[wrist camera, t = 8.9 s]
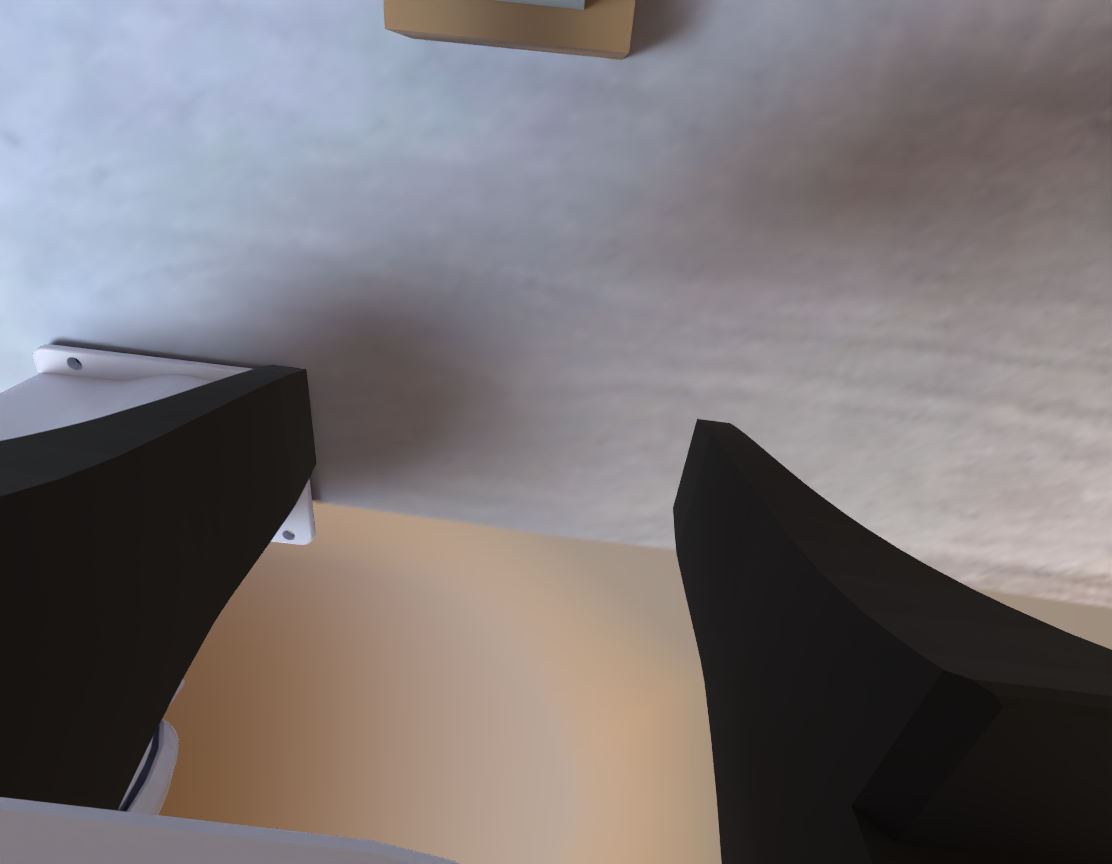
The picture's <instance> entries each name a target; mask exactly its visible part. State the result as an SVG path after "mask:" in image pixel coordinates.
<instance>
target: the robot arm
mask: <svg viewBox="0 0 1112 864" xmlns="http://www.w3.org/2000/svg"><path fill="white" fill-rule="evenodd" d="M33 357H34V361H35V364H36V367H37V370H38V373H39V374H38V375H36V376H34V377H32V378H30V379H28V380H26V381H24V382H22V383H20V384H18V385H16V386H14V387H12V388H10V389H8V390H6V391H4V392H2V393H0V864H458V863H457V862H455V861H453V860H449V859H445V858H441V857H437V856H433V855H429V854H425V853H421V852H417V851H413V850H409V849H405V848H401V847H397V846H393V845H389V844H385V843H381V842H377V841H373V840H364V839H355V838H348V837H338V836H330V835H321V834H313V833H305V832H296V831H287V830H279V829H270V828H262V827H253V826H244V825H236V824H227V823H219V822H210V821H201V820H193V819H184V818H175V817H167V816H158V813H159V811H160V809H161V807H162V805H163V802H164V800H165V798H166V795H167V792H168V789H169V786H170V782H171V777H172V774H173V770H174V767H175V763H176V759H177V753H178V744H179V743H178V737H177V733H176V731H175V730H174V728H173V727H172V725H171V724H169V723H168V722H166V721H165V720H163V719H162V718H163V716H164V714H165V712H166V710H167V708H168V707H169V705H170V704H171V702H172V701H173V700H174V698H175V697H176V695H177V694H178V692H179V691H180V689H181V688H182V686H183V685H184V680H183V677H184V675H185V673H186V672H187V670H188V668H189V666H190V665H191V663H192V661H193V659H194V657H195V656H196V654H197V652H198V650H199V648H200V647H201V645H202V643H203V641H204V639H205V638H206V636H207V634H208V632H209V631H210V629H211V627H212V625H213V623H214V622H215V620H216V619H217V617H218V616H219V614H220V612H221V611H222V609H223V608H224V606H225V605H226V603H227V602H228V600H229V599H230V597H231V596H232V595H233V593H234V591H235V590H236V589H237V588H238V586H239V585H240V583H241V582H242V580H243V579H244V578H245V576H246V575H247V574H248V572H249V571H250V569H251V568H252V567H253V565H254V564H255V562H256V561H257V560H258V558H259V557H260V555H261V554H262V553H263V551H264V550H265V548H266V547H267V546H268V544H269V543H270V542H271V541H273V542H281V543H291V544H300V545H307V544H309V543H310V542H311V541H312V540H313V538H314V536H315V526H314V525H315V524H314V515H313V506H312V497H311V488H310V476H311V473H312V471H313V469H314V467H315V465H316V456H315V447H314V437H313V428H312V419H311V409H310V400H309V390H308V381H307V372H306V369H300V368H292V367H284V366H276V365H271V366H265V367H260V368H256V369H252V368H243V367H235V366H227V365H218V364H210V363H202V362H193V361H185V360H177V359H168V358H160V357H152V356H143V355H135V354H127V353H118V352H110V351H102V350H93V349H85V348H77V347H68V346H60V345H52V344H47V345H43V346H41V347H39V348H37V349H35V350H34V353H33ZM75 358H76V359H78V360H79V361H80V362H81V364H82V365H80V364H79V363H77V361H76V360H75ZM673 514H674V529H675V541H676V552H677V557H678V562H679V567H680V571H681V576H682V580H683V585H684V589H685V594H686V598H687V602H688V607H689V611H690V615H691V620H692V624H693V629H694V632H695V637H696V641H697V646H698V650H699V655H700V659H701V665H702V670H703V676H704V681H705V690H706V697H707V707H708V715H709V724H710V732H711V742H712V752H713V762H714V773H715V783H716V794H717V806H718V820H719V833H720V846H721V860H722V864H1112V650H1111V649H1108V648H1106V647H1103V646H1100V645H1098V644H1095V643H1092V642H1090V641H1087V640H1085V639H1082V638H1080V637H1077V636H1074V635H1072V634H1070V633H1067V632H1065V631H1063V630H1060V629H1058V628H1056V627H1054V626H1051V625H1049V624H1047V623H1044V622H1042V621H1040V620H1038V619H1036V618H1033V617H1031V616H1029V615H1027V614H1024V613H1022V612H1020V611H1018V610H1015V609H1013V608H1011V607H1009V606H1006V605H1004V604H1002V603H1000V602H998V601H996V600H994V599H992V598H990V597H988V596H985V595H983V594H982V593H979V592H977V591H975V590H973V589H971V588H969V587H967V586H966V585H964V584H962V583H960V582H958V581H956V580H954V579H952V578H950V577H949V576H947V575H945V574H943V573H941V572H939V571H937V570H935V569H933V568H932V567H930V566H928V565H926V564H924V563H922V562H921V561H919V560H917V559H915V558H914V557H912V556H910V555H908V554H907V553H905V552H903V551H902V550H900V549H898V548H897V547H895V546H894V545H892V544H890V543H889V542H887V541H886V540H884V539H882V538H881V537H879V536H878V535H876V534H874V533H873V532H871V531H870V530H868V529H866V528H865V527H863V526H862V525H860V524H859V523H858V522H856V521H855V520H853V519H852V518H850V517H849V516H847V515H846V514H845V513H843V512H842V511H840V510H839V509H838V508H836V507H835V506H834V505H832V504H831V503H830V502H828V501H827V500H826V499H824V498H823V497H821V496H820V495H819V494H817V493H816V492H815V491H814V490H812V489H811V488H810V487H809V486H807V485H806V484H805V483H803V482H802V481H801V480H800V479H799V478H797V477H796V476H795V475H794V474H792V473H791V472H790V471H789V470H788V469H786V468H785V467H784V466H783V465H782V464H780V463H779V462H778V461H777V460H776V459H774V458H773V457H772V456H771V455H770V454H769V453H767V452H766V451H765V450H764V449H763V448H761V447H760V446H759V445H758V444H757V443H756V442H754V441H753V440H752V439H751V438H749V437H748V436H747V435H746V434H745V433H743V432H742V431H741V430H739V429H738V428H737V427H735V426H734V425H732V424H730V423H724V422H716V421H708V420H700V419H697V422H696V425H695V429H694V433H693V437H692V440H691V444H690V448H689V451H688V455H687V459H686V462H685V466H684V470H683V473H682V477H681V481H680V484H679V488H678V492H677V496H676V499H675V503H674V507H673ZM287 530H289V531H292V532H293V533H294V534H291V533H289V532H288V531H287Z"/></svg>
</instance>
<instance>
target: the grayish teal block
mask: <svg viewBox="0 0 1112 864" xmlns="http://www.w3.org/2000/svg"><path fill="white" fill-rule="evenodd" d="M495 1H505V2H514V3H524V4H533V5H542V6H552V7H561V8H571V9H580V10H584V5H585V0H495Z"/></svg>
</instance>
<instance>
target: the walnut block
mask: <svg viewBox="0 0 1112 864" xmlns="http://www.w3.org/2000/svg"><path fill="white" fill-rule="evenodd" d="M635 1H636V0H585V5H584V10H580V9H571V8H561V7H552V6H542V5H533V4H524V3H514V2H505V1H495V0H384V18H385V29H388V30H390V31H393V32H396V33H399V34H401V35H404V36H407V37H410V38H414V39H423V40H433V41H443V42H453V43H463V44H473V45H483V46H493V47H502V48H512V49H522V50H532V51H542V52H552V53H562V54H572V55H582V56H591V57H601V58H611V59H621V60H622V59H623V58H624V57H625V56H626V55H628V54H629V49H630V41H631V33H632V25H633V17H634V9H635Z"/></svg>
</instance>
